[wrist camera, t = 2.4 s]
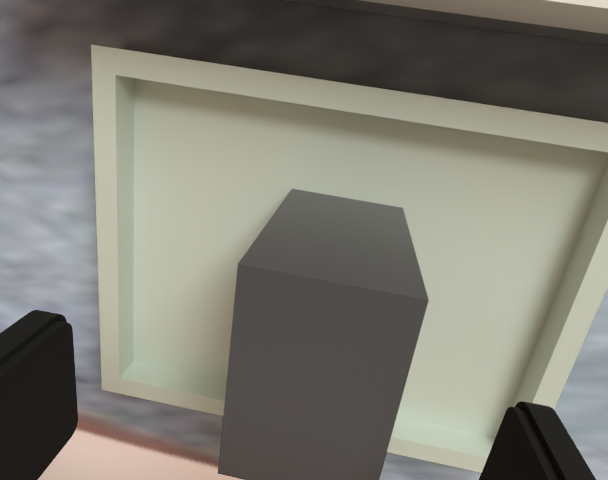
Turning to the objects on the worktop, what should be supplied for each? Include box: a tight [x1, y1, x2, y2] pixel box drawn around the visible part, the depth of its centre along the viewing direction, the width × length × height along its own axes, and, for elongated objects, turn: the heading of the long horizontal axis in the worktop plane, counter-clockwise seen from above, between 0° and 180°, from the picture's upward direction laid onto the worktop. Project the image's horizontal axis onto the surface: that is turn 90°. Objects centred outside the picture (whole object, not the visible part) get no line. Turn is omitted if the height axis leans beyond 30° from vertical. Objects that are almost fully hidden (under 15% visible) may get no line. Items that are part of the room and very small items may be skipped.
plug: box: [218, 189, 429, 480], centre depth 14 cm, size 4×8×7 cm, turn 172°
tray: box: [91, 45, 608, 473], centre depth 16 cm, size 18×14×2 cm
